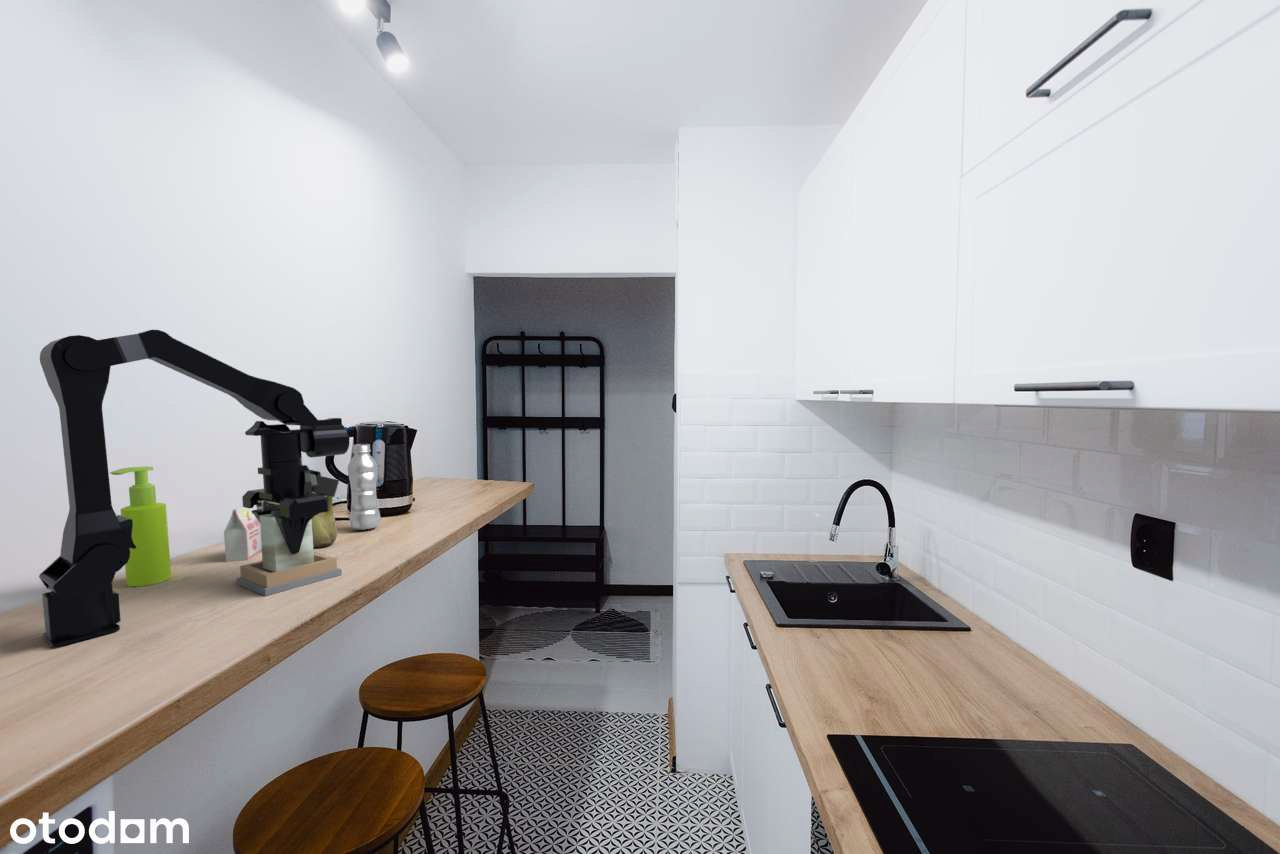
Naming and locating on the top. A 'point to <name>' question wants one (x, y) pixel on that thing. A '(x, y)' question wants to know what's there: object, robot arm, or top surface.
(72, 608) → the robot arm
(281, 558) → the cabinet block
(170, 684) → the top surface
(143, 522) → the soap dispenser
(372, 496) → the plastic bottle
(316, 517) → the fennel bulb
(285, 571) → the rectangular tray
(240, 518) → the milk carton
